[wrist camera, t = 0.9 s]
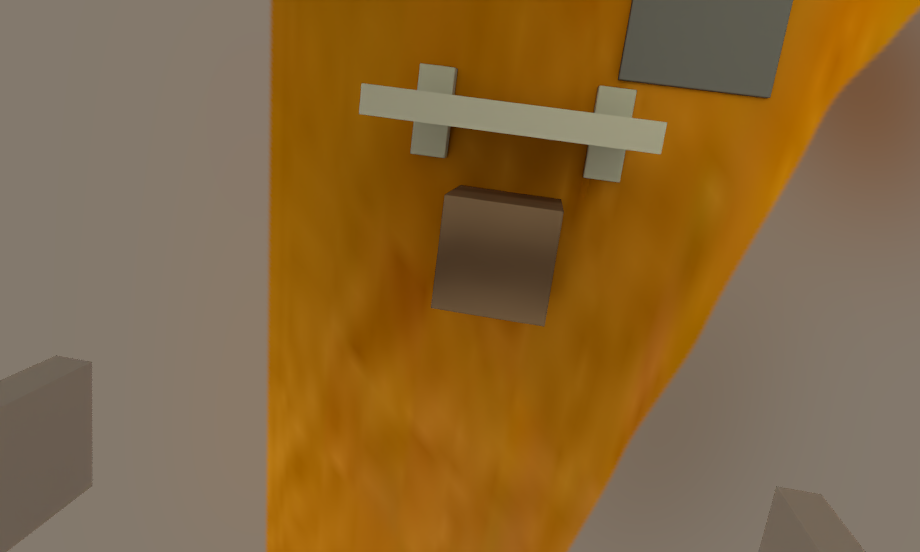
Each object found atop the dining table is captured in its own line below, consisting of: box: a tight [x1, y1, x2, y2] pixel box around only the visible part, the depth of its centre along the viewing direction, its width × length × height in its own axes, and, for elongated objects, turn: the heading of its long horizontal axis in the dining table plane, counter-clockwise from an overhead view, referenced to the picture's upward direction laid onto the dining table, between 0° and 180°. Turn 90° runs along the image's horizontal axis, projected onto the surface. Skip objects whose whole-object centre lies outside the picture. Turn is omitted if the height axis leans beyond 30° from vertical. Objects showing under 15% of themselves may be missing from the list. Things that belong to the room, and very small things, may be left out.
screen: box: [359, 63, 667, 182], centre depth 31 cm, size 5×12×12 cm, turn 82°
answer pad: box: [618, 0, 793, 98], centre depth 34 cm, size 8×8×1 cm
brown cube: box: [431, 185, 564, 326], centre depth 35 cm, size 6×6×6 cm
